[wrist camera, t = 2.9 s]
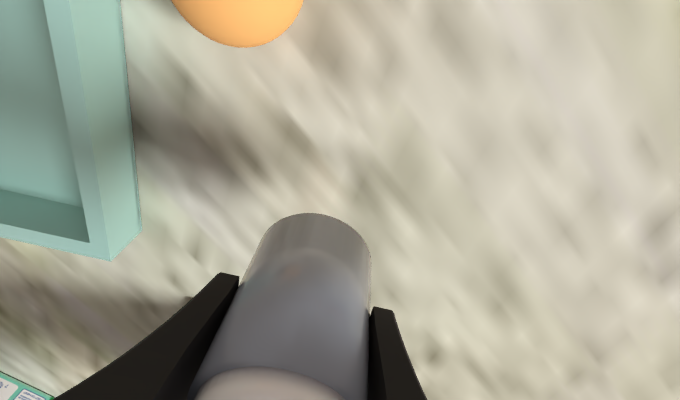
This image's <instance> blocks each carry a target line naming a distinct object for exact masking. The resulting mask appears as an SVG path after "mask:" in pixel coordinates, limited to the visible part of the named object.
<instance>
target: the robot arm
mask: <svg viewBox="0 0 680 400" xmlns="http://www.w3.org/2000/svg"><path fill="white" fill-rule="evenodd" d="M238 285H239V276H235V275H230V274H226V273H219V274H217V275H216V276H215V277H214V278H213V279H212V280H211V281H210V282H209V283H208V284H207V285H206V286H205V287H204V288H203V289H202V290H201V291H200V292H199V293H198V294H197V295H196V296H195V297H194V298H192V299H191V300H190V301H189V302H188V303H187V304H186V305H185V306H184V307H182V308H181V309H180V310H179V311H178V312H177V313H176V314H174V315H173V316H172V317H171V318H170V319H169V320H167V321H166V322H165V323H164V324H163V325H161V326H160V327H159V328H157V329H156V330H155V331H154V332H152V333H151V334H150V335H149V336H147V337H146V338H145V339H144V340H142V341H141V342H140V343H138V344H137V345H136V346H134V347H133V348H132V349H130V350H129V351H127V352H126V353H125V354H123V355H122V356H120V357H119V358H117V359H116V360H115V361H113V362H112V363H110V364H109V365H107V366H106V367H104V368H103V369H101V370H100V371H98V372H97V373H95V374H93V375H92V376H90V377H89V378H87V379H86V380H84V381H82V382H81V383H79V384H78V385H76V386H74V387H73V388H71V389H70V390H68V391H66V392H65V393H63V394H61V395H59V396H58V397H56V398H54V399H52V400H187V396H188V392H189V389H190V387H191V384H192V382H193V380H194V378H195V376H196V374H197V372H198V370H199V368H200V366H201V364H202V362H203V360H204V357H205V355H206V353H207V351H208V349H209V347H210V345H211V343H212V341H213V339H214V337H215V335H216V333H217V331H218V328H219V326H220V324H221V322H222V320H223V318H224V316H225V314H226V312H227V310H228V308H229V306H230V304H231V302H232V299H233V297H234V295H235V293H236V291H237V289H238ZM368 400H427V398H426V396H425V394H424V392H423V390H422V388H421V385H420V383H419V381H418V378H417V376H416V374H415V371H414V369H413V366H412V364H411V361H410V359H409V356H408V354H407V351H406V349H405V346H404V343H403V340H402V337H401V334H400V332H399V328H398V325H397V322H396V319H395V315H394V313H393V311H392V310H388V309H383V308H379V307H373V309H372V312H371V315H370V328H369V365H368Z"/></svg>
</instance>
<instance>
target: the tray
mask: <svg viewBox="0 0 680 400" xmlns="http://www.w3.org/2000/svg"><path fill="white" fill-rule="evenodd" d="M141 231H142V225H141V215H140V204H139V194H138V183H137V173H136V163H135V152H134V142H133V131H132V121H131V110H130V100H129V90H128V79H127V69H126V58H125V48H124V38H123V27H122V17H121V6H120V0H0V237H3V238H7V239H12V240H16V241H21V242H25V243H30V244H34V245H39V246H43V247H48V248H52V249H57V250H61V251H66V252H70V253H75V254H79V255H84V256H88V257H93V258H97V259H102V260H106V261H112V260H113V259H114V258H115V257H116V256H117V255H118V254H119V253H120V252H121V251H122V250H123V249H124V248H125V247H126V246H127V245H128V244H129V243H130V242H131V241H132V240H133V239H134V238H135V237H136V236H137V235H138V234H139V233H140V232H141Z"/></svg>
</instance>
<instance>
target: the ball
mask: <svg viewBox="0 0 680 400" xmlns="http://www.w3.org/2000/svg"><path fill="white" fill-rule="evenodd" d="M172 2H173V4H174V5H175V7H176V8H177V10H178V11H179V13H180V14H181V15H182V16H183V17H184V19H185V20H186V21H187V22H188V23H189V24H190V25H191V26H192V27H194V28H195V29H196V30H197V31H199V32H200V33H201V34H203V35H205V36H206V37H208V38H210V39H211V40H214V41H216V42H218V43H221V44H224V45H228V46H233V47H245V48H247V47H255V46H259V45H263V44H266V43H268V42H270V41H272V40H274V39H275V38H277V37H278V36H280V35H281V34H282V33H283V32H284V31H286V30H287V29H288V28H289V26H290V25H291V24H292V23H293V21H294V20H295V18H296V17H297V15H298V13H299V11H300V9H301V6H302V3H303V0H172Z"/></svg>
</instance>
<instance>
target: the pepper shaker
mask: <svg viewBox="0 0 680 400" xmlns="http://www.w3.org/2000/svg"><path fill="white" fill-rule="evenodd" d="M370 291H371V256H370V252H369V249H368V247H367V245H366V243H365V241H364V240H363V238H362V237H361V236H360V235H359V234H358V233H357V232H356V231H355V230H354V229H353V228H352V227H350V226H349V225H347V224H346V223H344V222H342V221H340V220H338V219H336V218H333V217H330V216H327V215H322V214H314V213H303V214H296V215H292V216H288V217H286V218H283V219H281V220H279V221H278V222H276V223H274V224H273V225H272V226H271V227H270V228H269V229H268V230H267V231H266V232H265V234H264V236H263V237H262V239H261V241H260V243H259V246H258V248H257V250H256V252H255V254H254V256H253V258H252V260H251V262H250V264H249V266H248V268H247V270H246V272H245V275H244V277H243V279H242V281H241V283H240V285H239V287H238V289H237V291H236V293H235V295H234V297H233V299H232V302H231V304H230V306H229V308H228V310H227V312H226V314H225V316H224V318H223V320H222V322H221V324H220V326H219V328H218V331H217V333H216V335H215V337H214V339H213V341H212V343H211V345H210V347H209V349H208V351H207V353H206V355H205V357H204V360H203V362H202V364H201V366H200V368H199V370H198V372H197V374H196V376H195V378H194V380H193V382H192V384H191V387H190V389H189V392H188V396H187V400H368V365H369V328H370Z"/></svg>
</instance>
